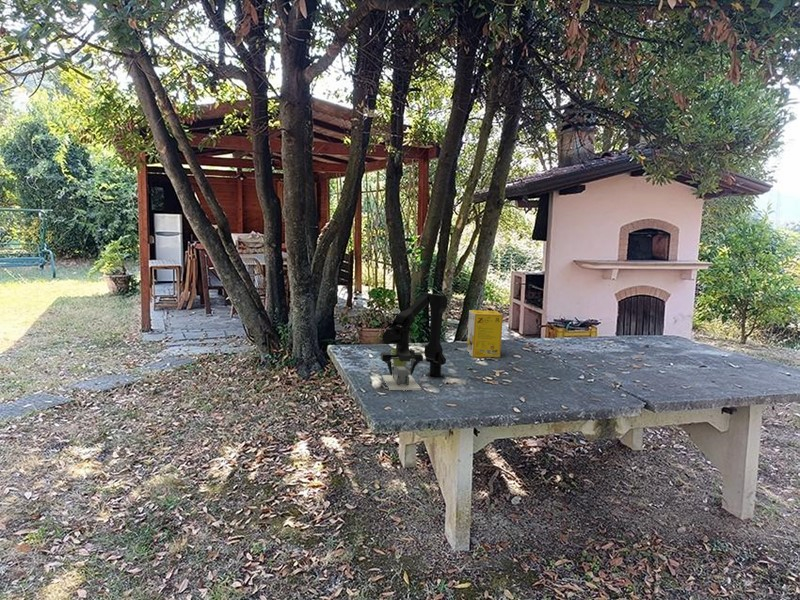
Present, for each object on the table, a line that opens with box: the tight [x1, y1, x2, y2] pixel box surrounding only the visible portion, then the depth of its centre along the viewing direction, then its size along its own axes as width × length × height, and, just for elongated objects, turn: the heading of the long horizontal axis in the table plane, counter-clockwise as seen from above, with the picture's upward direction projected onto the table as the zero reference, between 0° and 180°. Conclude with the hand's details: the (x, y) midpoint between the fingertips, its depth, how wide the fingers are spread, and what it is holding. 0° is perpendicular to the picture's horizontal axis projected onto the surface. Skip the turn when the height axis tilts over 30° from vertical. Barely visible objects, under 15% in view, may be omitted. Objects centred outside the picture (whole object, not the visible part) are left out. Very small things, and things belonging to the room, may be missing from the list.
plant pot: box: [390, 349, 408, 368], centre depth 269 cm, size 9×9×9 cm
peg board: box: [381, 369, 422, 392], centre depth 241 cm, size 22×14×4 cm, turn 11°
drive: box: [393, 365, 410, 384], centre depth 241 cm, size 9×5×6 cm, turn 11°
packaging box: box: [466, 309, 504, 358], centre depth 310 cm, size 16×16×25 cm
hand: (401, 375), depth 241 cm, fingers open, 9 cm apart
